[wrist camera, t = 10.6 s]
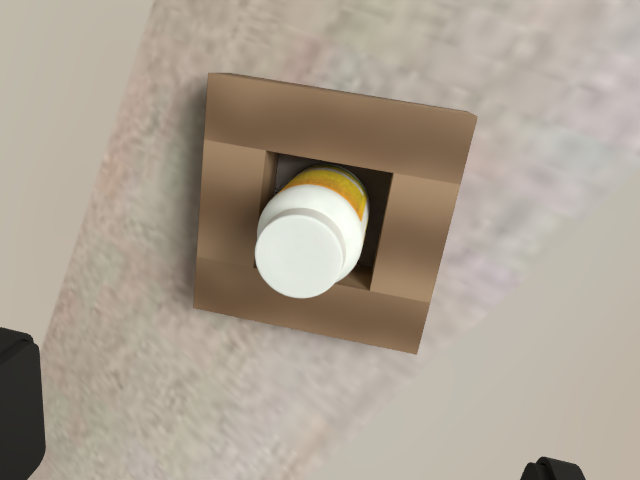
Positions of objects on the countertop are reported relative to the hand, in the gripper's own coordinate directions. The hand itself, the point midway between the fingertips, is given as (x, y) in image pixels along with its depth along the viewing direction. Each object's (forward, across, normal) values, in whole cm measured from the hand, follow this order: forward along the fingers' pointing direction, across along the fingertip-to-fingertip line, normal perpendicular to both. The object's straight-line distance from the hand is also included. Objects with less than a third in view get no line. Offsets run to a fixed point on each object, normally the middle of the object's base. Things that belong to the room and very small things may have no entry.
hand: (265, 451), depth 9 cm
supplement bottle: (+22, +2, +2) cm, 22 cm away
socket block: (+22, +1, +2) cm, 22 cm away
